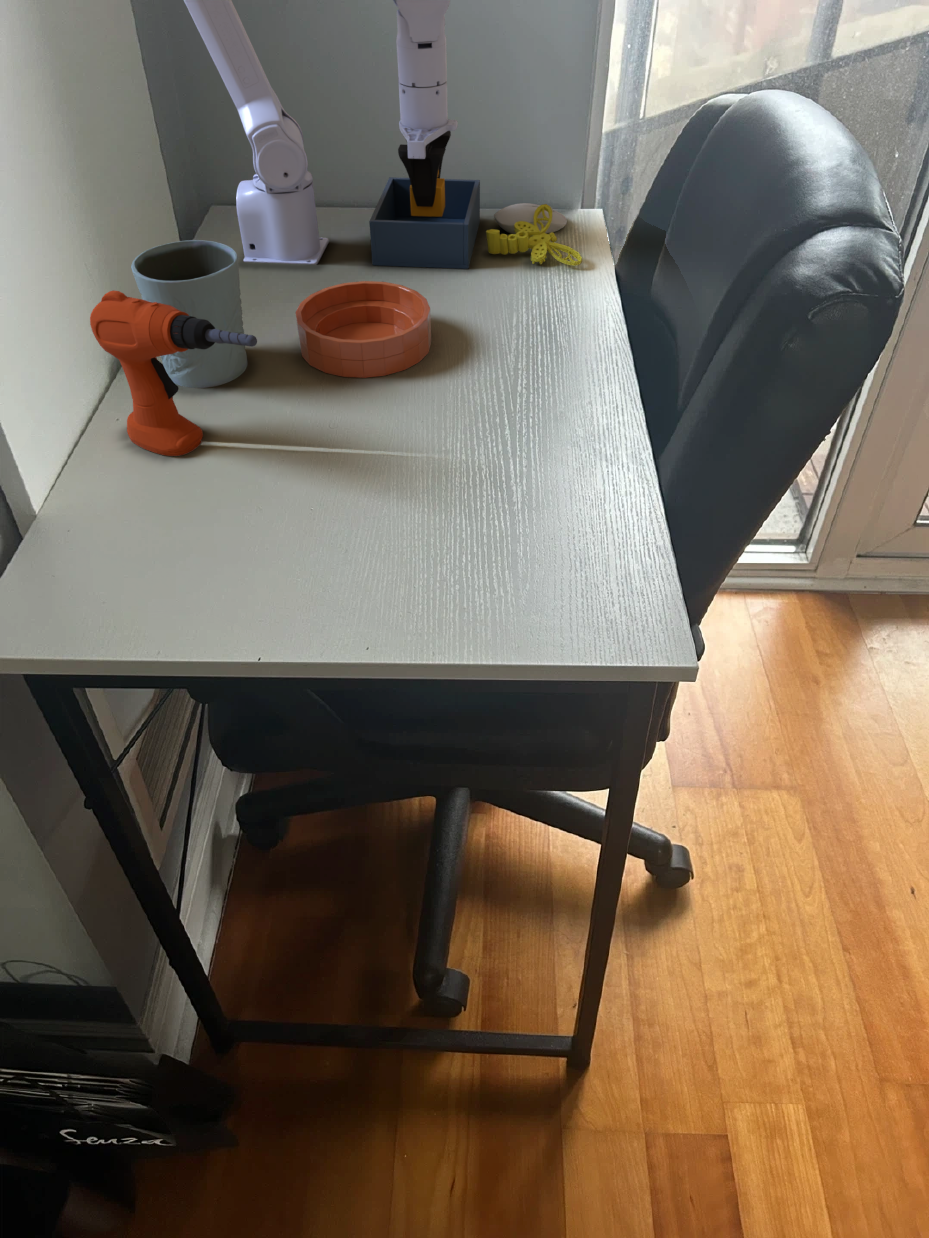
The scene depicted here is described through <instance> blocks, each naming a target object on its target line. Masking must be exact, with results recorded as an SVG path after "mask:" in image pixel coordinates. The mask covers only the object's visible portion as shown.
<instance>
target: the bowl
mask: <svg viewBox="0 0 929 1238" xmlns="http://www.w3.org/2000/svg"><path fill="white" fill-rule="evenodd" d="M294 314H295V320H296V327H297V334H298V343H299V349H300V355H301V357H302V359H304V361H305V362H306V363H307V364H308V365H309V366H311V367H313V368H314V369H316V370H318V371H321V372H323V373H325V374H329V375H333V376H337V377H343V378H359V379H366V378H367V379H368V378H376V377H384V376H389V375H392V374H395V373H399V372H402V371H406V370H408V369H409V368H411V367H413V366H415V365H417V364H418V363H420V362H421V361H422V360H423V359H424V358H425V357H426V356H427V355H428V354H429V352H430V348H431V345H432V320H431V319H432V318H431V307H430V304H429V302H428V300H427V298H426V297H425V296H424V295H422V294H421V293H420V292H419V291H417V290H415V289H412V288H410V287H408V286H405V285H403V284H398V283H394V282H388V281H375V280H373V281H372V280H361V281H350V282H342V283H338V284H335V285H329V286H326V287H325V288H322V289H320V290H317V291H316V292H313V293H310V295H308V296H307V297H306V298H305V299H303V300H302V301H301V302H300V303H299V305H298V306H297V309H296V310H295V313H294Z"/></svg>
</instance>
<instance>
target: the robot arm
mask: <svg viewBox="0 0 929 1238" xmlns="http://www.w3.org/2000/svg"><path fill="white" fill-rule="evenodd" d="M392 1H393V4H394V5H395V6H396V7H397V8H398V9H396V23H397V24H396V26H397V34H396V38H395V41H396V58H397V77H398V96H399V98H398V99H399V100H398V101H399V117H400V120H399V121H398V128H399V129H398V130H399V132H400V133H401V135H402V136H403V138H404V139H405V141H406V144H399V146H398V148H397V153H398V157H399V159H400V162H402V165H403V166H404V168H405V171H406V173H407V176H408V178H409V179H410V183H411V187H412V191H413V195H414V199H415V202H416V205H417V206H421V207H433V203H434V199H435V193H436V184H437V178H441V173H442V165H443V160H444V156H445V154H446V153H445V152H446V151H447V149H446V148H447V145H448V143H449V141H450V138H451V136H452V132H455V131H457V129H458V127H459V126H458V125H459V123H458V120H457V119H449V114H448V113H449V111H448V67H447V66H448V65H447V62H448V61H447V60H448V58H447V55H448V54H447V35H446V34H445V31H446V30H445V27H446V18H445V15H446V13H447V11H448V9H449V6H450V4H451V3H450V2H451V0H392ZM183 2H184V4H185V6H186V9H187V10H188V12H189V14H190V16H191V18H192V20H193V22H194V24H195V27H196V28H197V31H198V33H199V34H200V37H201V39H202V41H203V43H204V45H205V47H206V49H207V51H208V53H209V56H210V57H211V59H212V61H213V64H214V65H215V67H216V70H217V71H218V74H219V75H220V77H221V79H222V81H223V84H224V86H225V88H226V90H227V92H228V94H229V95H230V98H231V100H232V102H233V104H234V106H235V108H236V110H237V113H238V116H239V118H240V121H241V124H242V127H243V130H244V133H245V135H246V138H247V139H248V142H249V144H250V147H251V149H252V164H253V169H254V171H255V173H254V174H253V176H252V179H248V180H247V179H246V180H241V181H240V182H239V183H238V186H237V188H236V195H235V196H236V197H235V198H236V199H235V201H236V203H235V204H236V214H237V221H238V226H239V227H238V228H239V231H240V232H239V233H240V239H241V243H242V248H243V254H244V258H243V259H242V261H243V262H244V263H264V264H292V265H313V266H315V265H318V264H319V262H320V260H321V258H322V256H323V254H324V253H325V250H326V248H327V247H328V244H329V243H330V239H329V238H328V237H320V232H319V224H318V223H319V222H318V215H317V206H316V198H315V190H314V180H313V174H312V173H311V172H310V171H309V170H308V167H309V161H308V156H307V152H306V151H305V146H304V143H305V140H304V134H303V131H302V128H301V126H300V125H299V123H298V122H297V120H295V119H294V118H293V117H292V116H291V115H290V114H289V113H287V111H286V110H285V109H284V107H283V105H282V102H281V101H280V99H279V96H278V95H277V94H276V92H275V90H274V89H273V87H272V85H271V83H270V80H269V79H268V77H267V74H266V72H265V70H264V68H263V65H262V63H261V62H260V61H261V60H259V57H258V55H257V53H256V51H255V48H254V46H253V44H252V42H251V39H250V37H249V35H248V33H247V31H246V29H245V27H244V24H243V22H242V20H241V18H240V16H239V14H238V11H237V9H236V7H235V5H234V2H233V0H183ZM438 170H439V174H438ZM437 176H438V177H437Z"/></svg>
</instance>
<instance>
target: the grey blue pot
mask: <svg viewBox="0 0 929 1238" xmlns="http://www.w3.org/2000/svg"><path fill="white" fill-rule="evenodd" d="M130 266H131V272H132V274H133V277H134V281H135V283H136V286H137V288H138V292H139V293H140V295H141V299H142V300H146V301H149V302H152V303H153V302H157V303H161V304H165V305H170V306H172V307H174V308H176V309H178V310H179V311H181V312H185V313H187V314H188V315H189V316H193V317H196V318H197V319H205V320H208V321H209V322H210V323H211V324H212V325H213V326H214V327H215V329H218V330H222V331H228V332H231V333H232V332H233V333H239V334H245V328H244V327H243V326H244V321H243V308H242V299H241V295H242V294H241V286H240V285H241V284H240V283H241V282H240V281H241V280H240V267H239V256H238V254H237V252H236V250H234V248H232V246H229V245H227V244H224V243H221V242H217V241H212V240H202V239H200V240H199V239H190V240H189V239H188V240H179V241H172V242H168V243H164V244H160V245H156V246H153V247H151V248H148V249H146V250H144V251H143V252H140V254H138V255H137V256H135V258H134V259H133V260H132V263H131V265H130ZM245 348H246V346H244V345H235V344H227V343H222V344H219V343H216V342H215V344H214V345H212V346H211V347H209V348H208V349H197V348H195V349H188V350H186V351H184V352H176V353H173V354H170V355H163V356H160V359H161V363H162V364H163V366H164V368H165V370H166V372H167V374H168V375H169V377H170V378H171V380H172V381H173V382H174V383H175V384H176V385H177V386H180V387H185V388H191V389H204V388H212V387H219V386H221V385H224V384H228V383H229V382H232V381H234V380H235V379H237V378H239V377H240V376H241V375H243V374H244V373H245V371H246V370H247V368H248V356H247V351H246V349H245Z"/></svg>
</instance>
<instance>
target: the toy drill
mask: <svg viewBox="0 0 929 1238" xmlns="http://www.w3.org/2000/svg"><path fill="white" fill-rule="evenodd" d="M89 324H90V328H91V331H92V334H93V337H94V338H95V340H96V341H97V343H98V345H99V346H100V347H101V349H103V351H105V352H106V353H108V354H109V355H111V356H113V357H114V358H116V359H117V360H119V363H120V365H121V367H122V370H123V372H124V375H125V379H126V381H127V385H128V387H129V390H130V395H131V399H132V412H131V413H129V414H128V416H127V419H126V432H127V435H128V438H129V440H130V442H132V443H133V444H134V445H136V446H138V447H140V448H141V449H144V450H146V451H149V452H152V453H154V454H158V455H162V456H166V457H167V456H168V457H179V456H183V455H187V454H189V453H191V452H193V451H195V450H196V449H197V448H198V447H200V445H201V444H202V442H203V440H202V439H203V437H204V434H203V430H202V428H201V427H200V426H198V425H197V424H195V423H194V422H193V421H191V420H189V419H188V418H186V417H185V416H184V415H182V414H180V413H179V410H178V409H177V406H176V403H175V401H174V396H175V395H177V393H178V392H179V385H177V384H175V383H174V382H173V381H172V380H171V378H170V377H169V375H168V374H167V372H166V370H165V368H164V366H163V362H162V361H160V360H159V359H158V357H161V356H163V355H170V354H173V353H176V352H184V351H186V350H188V349H195V348H197V349H208V348H209V347H211V346H212V345H214V344H215V342H216V343H219V344H222V343H227V344H235V345H244V346H245V347H252V348H253V347H255V346H256V345H257V344H258V338H257V337H256V336H255V335H253V334H247V333H244V334H239V333H233V332H232V333H231V332H228V331H222V330H218V329H215V327H214V326H213V325H212V324H211V323H210V322H209V321H208V320H205V319H197V318H196V317H193V316H189V315H188V314H187V313H185V312H181V311H179V310H178V309H176V308H174V307H172V306H170V305H165V304H161V303H157V302H153V303H152V302H149V301H146V300H142V298H136V297H132V296H127V295H126V294H125V293H124V292H122V291H120V290H114V289H113V290H109V291H107V292H106V293H105V294H104V295H103V296H102V297H101V300H100V301H99V302H98V303H97V304H96V305H95V306H94V308H93V309H92V311H91V313H90V316H89Z"/></svg>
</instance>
